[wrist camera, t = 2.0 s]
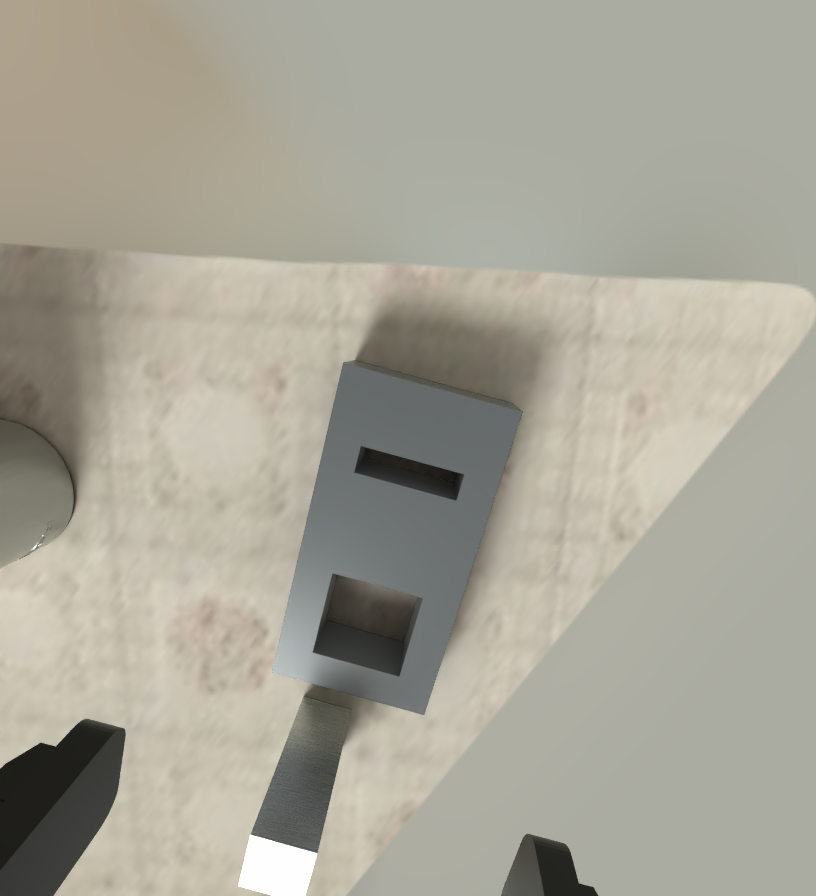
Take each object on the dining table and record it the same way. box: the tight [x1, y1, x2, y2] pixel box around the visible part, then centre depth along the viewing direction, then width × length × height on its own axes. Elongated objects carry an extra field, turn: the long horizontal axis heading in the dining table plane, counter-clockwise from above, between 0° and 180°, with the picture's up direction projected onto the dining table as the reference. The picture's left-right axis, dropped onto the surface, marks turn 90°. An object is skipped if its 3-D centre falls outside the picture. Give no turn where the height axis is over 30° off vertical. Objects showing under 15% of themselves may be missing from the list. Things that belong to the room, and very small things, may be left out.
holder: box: [272, 360, 522, 715], centre depth 30 cm, size 20×10×4 cm, turn 165°
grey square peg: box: [238, 697, 351, 896], centre depth 30 cm, size 4×4×10 cm
